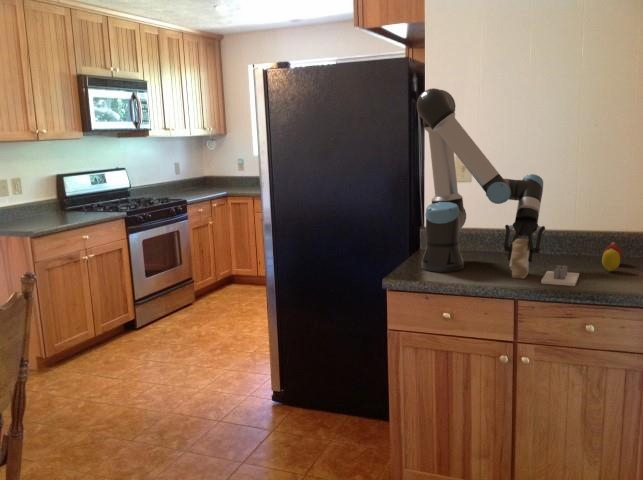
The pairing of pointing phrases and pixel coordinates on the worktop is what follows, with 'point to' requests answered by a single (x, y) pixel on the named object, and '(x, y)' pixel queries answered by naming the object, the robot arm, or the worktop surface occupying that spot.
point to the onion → (614, 248)
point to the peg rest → (560, 276)
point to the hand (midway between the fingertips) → (518, 268)
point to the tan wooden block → (519, 258)
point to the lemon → (611, 259)
